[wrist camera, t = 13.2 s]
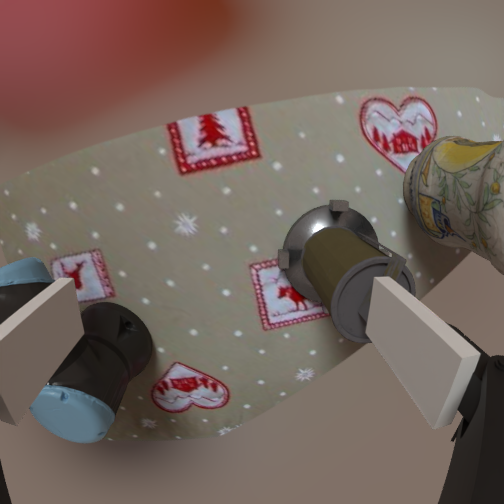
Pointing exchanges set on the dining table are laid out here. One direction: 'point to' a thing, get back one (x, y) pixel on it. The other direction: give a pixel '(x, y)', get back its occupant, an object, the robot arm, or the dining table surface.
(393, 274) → the canister
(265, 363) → the dining table surface
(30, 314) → the robot arm
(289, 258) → the flange
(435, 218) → the vase
